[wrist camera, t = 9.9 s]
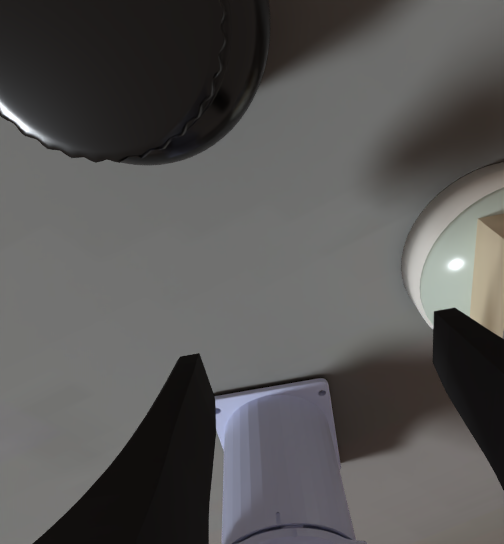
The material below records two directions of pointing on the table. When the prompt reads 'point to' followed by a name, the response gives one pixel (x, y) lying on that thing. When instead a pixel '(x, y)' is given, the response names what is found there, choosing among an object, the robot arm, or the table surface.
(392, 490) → the table surface
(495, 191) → the stand
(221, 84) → the supplement bottle
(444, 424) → the table surface
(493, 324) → the block
